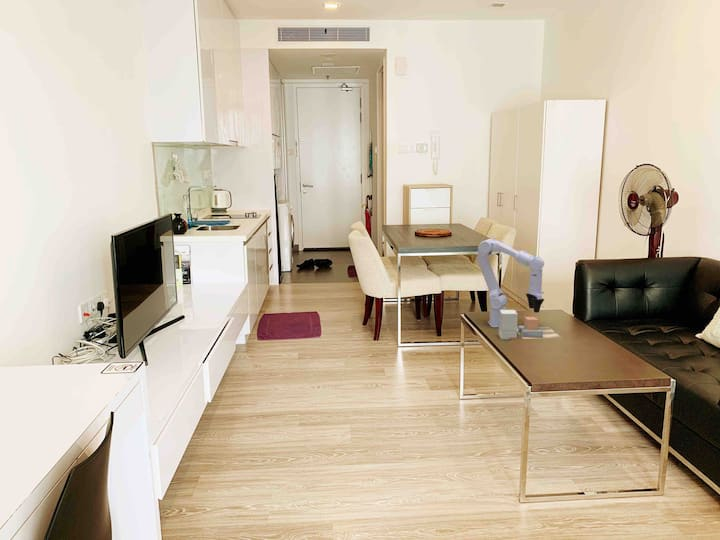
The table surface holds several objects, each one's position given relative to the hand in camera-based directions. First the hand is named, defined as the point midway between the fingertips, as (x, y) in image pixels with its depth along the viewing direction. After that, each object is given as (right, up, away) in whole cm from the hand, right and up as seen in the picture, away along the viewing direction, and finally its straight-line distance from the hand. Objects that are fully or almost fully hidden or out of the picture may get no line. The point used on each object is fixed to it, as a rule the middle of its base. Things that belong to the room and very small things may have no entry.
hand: (533, 310), depth 269 cm
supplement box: (-15, -12, -8) cm, 21 cm away
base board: (0, -11, -4) cm, 12 cm away
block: (-4, -8, -8) cm, 12 cm away
